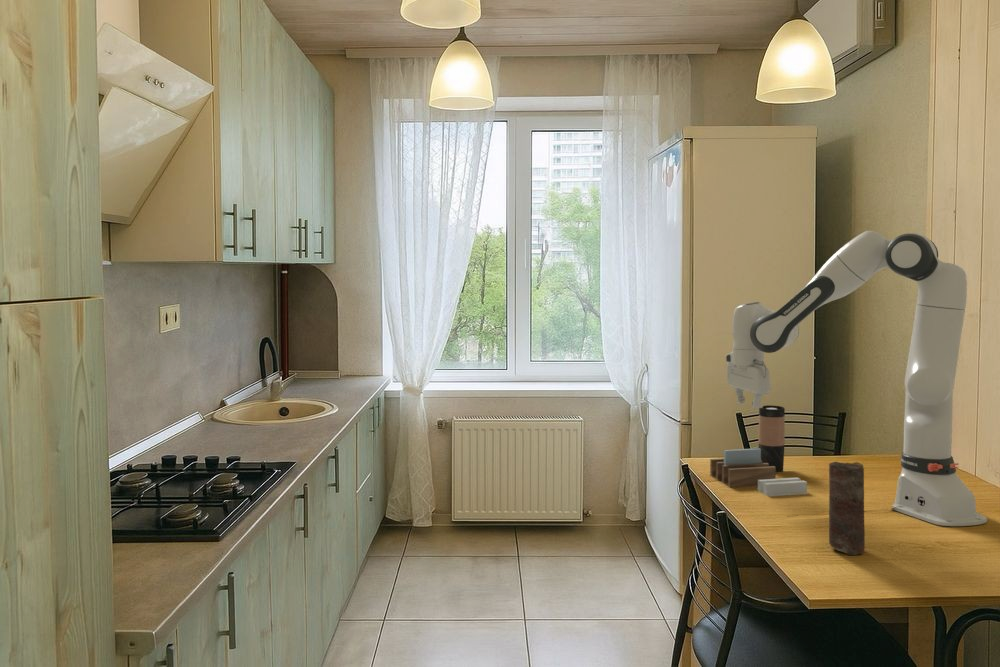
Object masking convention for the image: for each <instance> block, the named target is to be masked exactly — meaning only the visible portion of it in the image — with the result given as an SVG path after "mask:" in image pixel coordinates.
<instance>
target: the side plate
mask: <svg viewBox="0 0 1000 667" xmlns="http://www.w3.org/2000/svg"><path fill="white" fill-rule="evenodd" d="M723 458H724V465H738V464H755V463H761V449H759V447H758V448H757V447H755V448H739V449H738V448H737V449H724V450H723Z"/></svg>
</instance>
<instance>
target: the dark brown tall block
mask: <svg viewBox="0 0 1000 667" xmlns="http://www.w3.org/2000/svg"><path fill="white" fill-rule="evenodd" d="M828 472H829V476H828V479H829V480H828V482H829V484H828V487H829V488H828V493H829V494H828V495H829V496H828V502H829V503H828V509H829V510H828V512H829V513H828V541H829V543H828V544H829V545H830V546H831V548H834V549H835V550H837V551H839V552H841V553H844V554H845V555H849V556H850V555H851V556H856V555H859V554H863V553H864V552H865V549H866V546H865V542H866V541H865V536H866V535H865V534H866V533H865V468H864V465H863V464H862V463H860V462H858V461H856V462H851V463H850V462H845V463H844V462H838V461H832V462H830V463H829V464H828Z"/></svg>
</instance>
